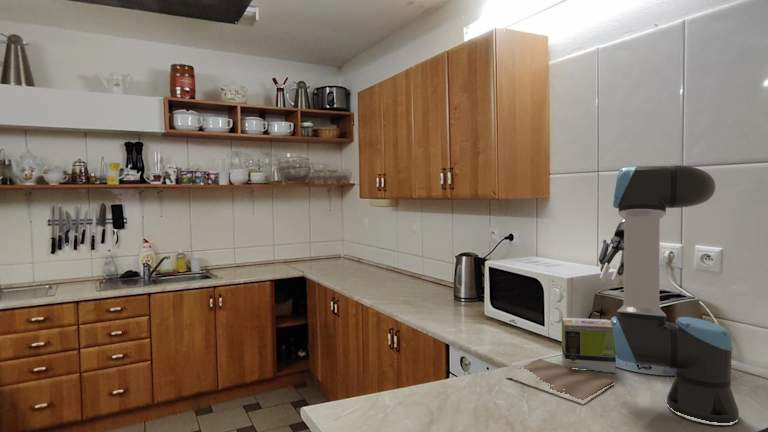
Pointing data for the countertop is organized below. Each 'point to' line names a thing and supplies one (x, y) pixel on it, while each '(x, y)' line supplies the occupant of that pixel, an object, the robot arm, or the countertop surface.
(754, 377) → the countertop surface
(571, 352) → the tea box
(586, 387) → the walnut board
